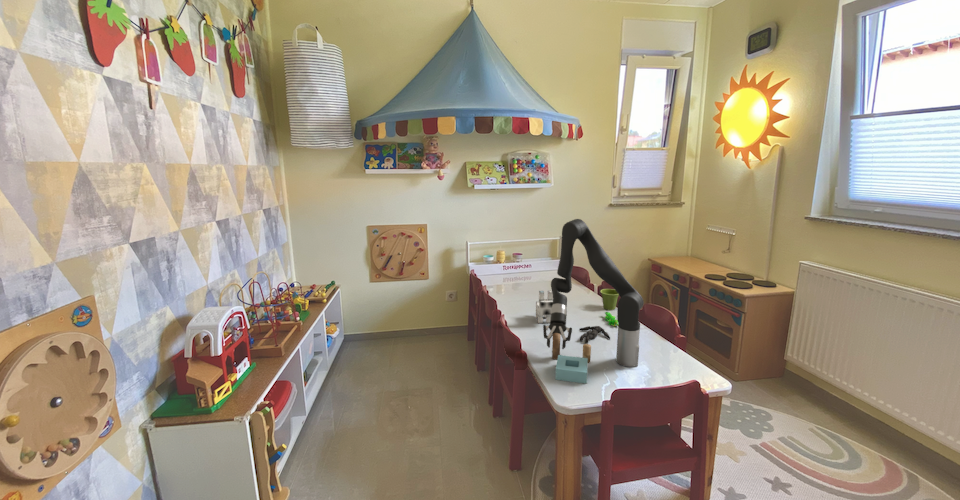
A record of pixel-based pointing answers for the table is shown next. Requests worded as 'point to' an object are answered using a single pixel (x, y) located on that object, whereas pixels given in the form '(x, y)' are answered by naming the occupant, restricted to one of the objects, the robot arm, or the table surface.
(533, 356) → the table surface
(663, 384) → the table surface
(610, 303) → the plant pot
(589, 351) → the short pin
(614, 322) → the green lumpy elongated piece
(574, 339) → the table surface
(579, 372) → the hole block
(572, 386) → the table surface
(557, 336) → the long pin
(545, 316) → the toy llama
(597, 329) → the dark grey sprawling piece
